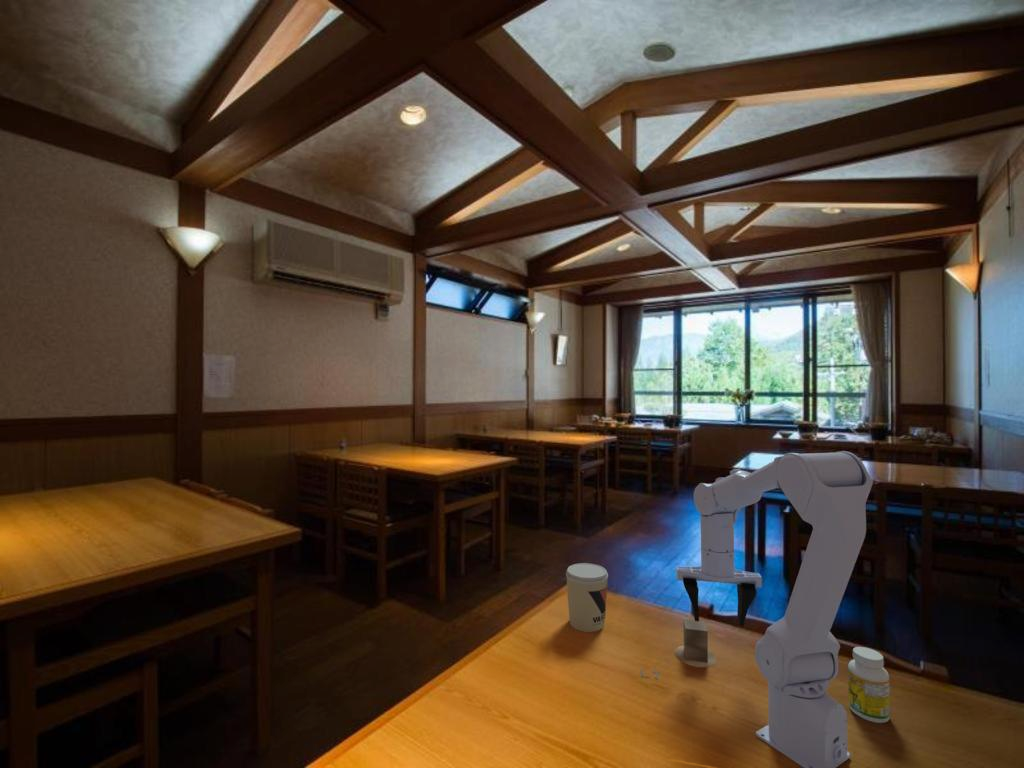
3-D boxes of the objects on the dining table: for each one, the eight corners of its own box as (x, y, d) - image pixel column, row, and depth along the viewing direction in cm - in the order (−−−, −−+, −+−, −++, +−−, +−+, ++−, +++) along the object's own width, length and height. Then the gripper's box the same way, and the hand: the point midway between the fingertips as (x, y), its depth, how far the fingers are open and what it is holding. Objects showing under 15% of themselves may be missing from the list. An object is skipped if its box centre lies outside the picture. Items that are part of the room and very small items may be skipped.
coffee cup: (598, 639, 101) (598, 581, 101) (558, 627, 106) (558, 572, 106) (614, 620, 108) (614, 567, 109) (577, 610, 114) (576, 559, 114)
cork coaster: (724, 660, 92) (724, 659, 92) (698, 672, 89) (698, 671, 89) (692, 642, 99) (692, 641, 99) (666, 652, 95) (666, 651, 95)
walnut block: (705, 651, 95) (704, 621, 95) (707, 662, 91) (707, 631, 91) (683, 648, 96) (683, 618, 96) (685, 659, 92) (685, 628, 92)
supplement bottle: (895, 727, 74) (894, 665, 74) (853, 719, 76) (853, 658, 76) (882, 706, 79) (882, 648, 79) (844, 698, 81) (844, 641, 81)
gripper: (754, 544, 92) (756, 615, 91) (674, 538, 95) (675, 607, 95) (764, 556, 85) (765, 634, 84) (677, 550, 88) (678, 624, 88)
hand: (718, 621), depth 89 cm, fingers open, 7 cm apart
